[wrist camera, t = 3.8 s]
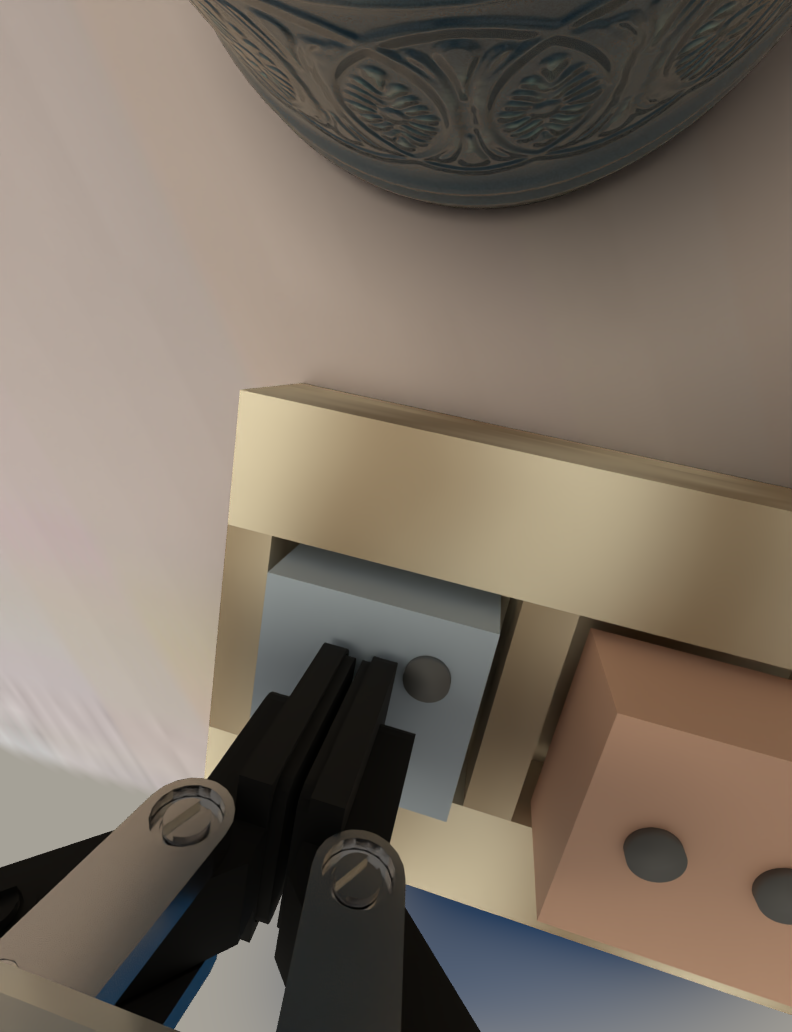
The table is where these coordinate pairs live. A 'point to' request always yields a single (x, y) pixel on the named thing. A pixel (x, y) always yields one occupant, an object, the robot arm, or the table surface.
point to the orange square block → (671, 813)
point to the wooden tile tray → (501, 588)
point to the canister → (492, 84)
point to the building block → (387, 652)
